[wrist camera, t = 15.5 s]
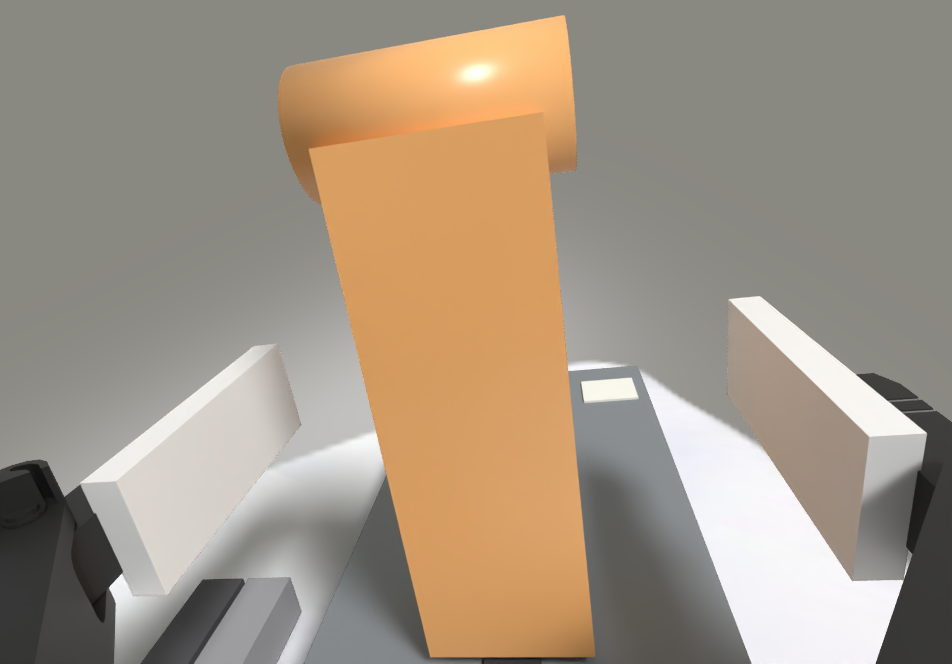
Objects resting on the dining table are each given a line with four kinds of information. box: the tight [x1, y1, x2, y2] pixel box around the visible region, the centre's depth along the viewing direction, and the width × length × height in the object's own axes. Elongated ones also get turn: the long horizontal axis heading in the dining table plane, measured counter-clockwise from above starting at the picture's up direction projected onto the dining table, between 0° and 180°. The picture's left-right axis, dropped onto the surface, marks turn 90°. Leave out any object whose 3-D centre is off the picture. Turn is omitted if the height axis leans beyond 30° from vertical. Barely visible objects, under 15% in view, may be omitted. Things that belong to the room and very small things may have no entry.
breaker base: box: [304, 366, 751, 664], centre depth 20 cm, size 11×20×3 cm, turn 173°
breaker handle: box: [278, 15, 596, 657], centre depth 12 cm, size 5×3×14 cm, turn 83°
